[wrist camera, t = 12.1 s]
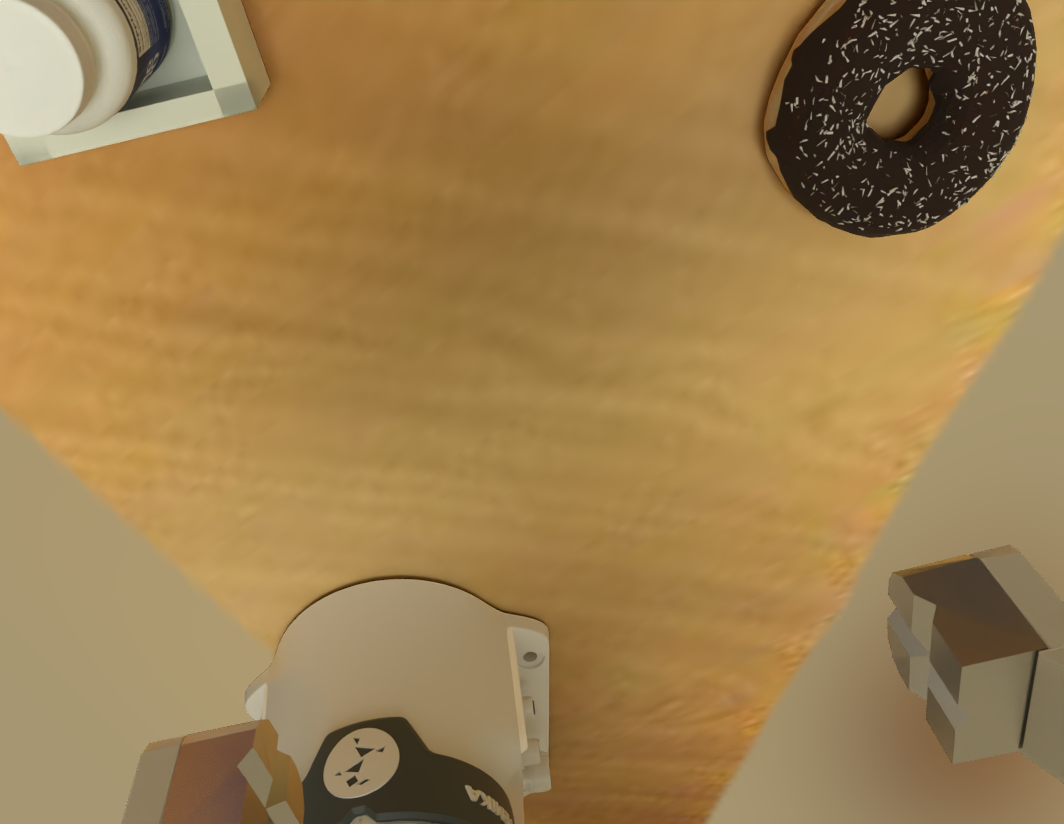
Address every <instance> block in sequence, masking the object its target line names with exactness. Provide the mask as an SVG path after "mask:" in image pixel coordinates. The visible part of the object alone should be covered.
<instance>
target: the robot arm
mask: <svg viewBox="0 0 1064 824" xmlns="http://www.w3.org/2000/svg"><path fill="white" fill-rule="evenodd" d="M888 595H889V596H890V598H891V600H892V601H893V603H894V605H895V606H896V609H895V610H894V611H893V612H892V614H891V615H890V616H889V617H888V619H887V621H888V640H889V644H890V648H891V652H892V657H893V659H894V662H895V664H896V666H897V669H898V671H899V673H900V675H901V677H902V679H903V680H904V682H905V684H906V686H907V688H908V689H909V691H911V692H913V693H915V694H917V695H918V696H920V697H922V698H924V699H925V700H927V708H926V720H927V722H928V724H929V725H930V727H931V729H932V730H933V732H934V734H935V735H936V737H937V739H938V741H939V742H940V744H941V745H942V747H943V749H944V751H945V753H946V754H947V756H948V758H949V759H950V760H951V763H952V764H957V763H961V762H967V761H972V760H977V759H982V758H987V757H991V756H997V755H1002V754H1007V753H1012V752H1017V751H1022V755H1023V756H1025V757H1026V758H1028V759H1029V760H1031V761H1032V762H1034V763H1035V764H1036V765H1038V766H1039V767H1041V768H1042V769H1044V770H1045V771H1047V772H1048V773H1050V774H1051V775H1052V776H1054V777H1055V778H1057V779H1058V780H1060V781H1061V782H1062V783H1064V602H1063V601H1062V600H1061V598H1060V597H1059V596H1058V595H1057V594H1056V593H1055V591H1054V590H1053V589H1052V588H1051V587H1050V586H1049V585H1048V583H1047V582H1046V581H1045V580H1044V579H1043V577H1042V576H1041V575H1040V574H1039V573H1038V572H1037V570H1036V569H1035V568H1034V567H1033V566H1032V565H1031V563H1030V562H1029V561H1028V560H1027V559H1026V558H1025V556H1024V555H1023V554H1022V553H1021V552H1020V551H1019V550H1018V549H1017V548H1015V547H1013V546H1011V545H1007V546H1003V547H999V548H994V549H990V550H986V551H982V552H977V553H973V554H970V555H962V556H959V557H954V558H950V559H946V560H942V561H938V562H934V563H929V564H925V565H921V566H917V567H913V568H909V569H905V570H901V571H897V572H893V573H892V575H891V577H890V579H889V586H888ZM528 652H530V653H528ZM245 709H246V712H247V713H248V714H249V715H250V717H251V718H253V720H254V721H252V722H248V723H242V724H237V725H233V726H228V727H223V728H218V729H213V730H208V731H204V732H198V733H193V734H189V735H186V736H181V737H176V738H172V739H167V740H162V741H158V742H153V743H150V744H149V745H148V746H147V748H146V749H145V750H144V752H143V753H142V755H141V756H140V760H139V763H138V767H137V771H136V774H135V778H134V781H133V785H132V788H131V791H130V795H129V798H128V801H127V805H126V809H125V812H124V816H123V819H122V823H121V824H524V800H523V797H525V796H527V795H529V794H532V793H533V792H534V793H540V792H548V790H551V778H550V769H549V630H548V628H547V626H546V625H545V624H544V623H542V622H540V621H538V620H535V619H532V618H528V617H523V616H518V615H513V614H508V613H503V612H501V611H499V610H497V609H495V608H493V607H491V606H489V605H488V604H486V603H485V602H483V601H481V600H480V599H478V598H477V597H475V596H473V595H471V594H469V593H467V592H465V591H462V590H460V589H457V588H454V587H451V586H448V585H444V584H440V583H436V582H430V581H424V580H413V579H390V580H380V581H373V582H367V583H363V584H359V585H355V586H351V587H348V588H345V589H342V590H340V591H337V592H335V593H333V594H330V595H328V596H326V597H324V598H323V599H321V600H319V601H317V602H316V603H314V604H313V605H311V606H310V607H309V608H307V609H306V610H305V611H304V612H302V613H301V614H300V615H299V616H298V617H297V618H296V619H295V620H294V621H293V622H292V624H291V625H290V626H289V627H288V629H287V630H286V632H285V633H284V635H283V637H282V639H281V641H280V643H279V646H278V649H277V652H276V654H275V657H274V660H273V662H272V663H271V665H270V667H269V668H268V669H267V670H265V671H264V672H263V673H262V674H261V675H260V676H258V677H257V678H256V679H255V680H254V681H253V682H252V683H251V684H250V685H249V687H248V688H247V690H246V692H245Z"/></svg>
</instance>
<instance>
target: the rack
mask: <svg viewBox="0 0 1064 824" xmlns="http://www.w3.org/2000/svg"><path fill="white" fill-rule="evenodd" d="M171 3H172V7H173V12H174V27H175V29H174V37H173V41H172V45H171V48H170V50H169V52H168V54H167V56H166V58H165V59H164V61H163V62H162V64H161V65H160V67H159V68H158V69H157V70H156V71H155V72H154V73H153V74H152V76H151V77H150V78H149V79H148V80H147V81H146V82H145V83H144V84H143V85H142V86H141V88H140V89H139V90H138V91H137V92H136V93H135V94H134V95H133V96H132V97H131V98H130V99H129V100H128V102H127V103H126V104H125V105H124V106H123V107H122V108H121V109H120V110H119V111H118V112H117V113H116V114H115V115H114V116H113V117H111V118H110V119H109V120H108V121H106V122H105V123H103V124H101V125H99V126H98V127H96V128H93V129H91V130H88V131H84V132H81V133H77V134H70V135H51V134H50V135H47V136H43V137H37V138H17V137H11V136H7V135H4V137H5V139H6V141H7V143H8V145H9V146H10V148H11V150H12V152H13V154H14V156H15V158H16V160H17V162H18V163H19V165H20V166H23V165H27V164H31V163H35V162H40V161H44V160H48V159H52V158H56V157H60V156H65V155H69V154H73V153H77V152H81V151H85V150H90V149H94V148H98V147H102V146H106V145H110V144H115V143H119V142H123V141H127V140H131V139H135V138H140V137H144V136H148V135H152V134H156V133H160V132H165V131H169V130H173V129H177V128H181V127H185V126H190V125H194V124H198V123H202V122H206V121H210V120H215V119H219V118H223V117H227V116H231V115H235V114H240V113H244V112H248V111H252V110H256V109H257V108H258V106H259V104H260V102H261V101H262V99H263V97H264V95H265V93H266V91H267V89H268V87H269V85H270V81H269V78H268V75H267V72H266V69H265V67H264V64H263V61H262V58H261V55H260V52H259V50H258V47H257V44H256V41H255V38H254V35H253V33H252V30H251V27H250V24H249V21H248V18H247V16H246V13H245V10H244V7H243V4H242V1H241V0H171Z"/></svg>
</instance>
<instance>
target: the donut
mask: <svg viewBox="0 0 1064 824" xmlns="http://www.w3.org/2000/svg"><path fill="white" fill-rule="evenodd" d="M1036 50H1037V48H1036V40H1035V32H1034V26H1033V20H1032V17H1031V12H1030V9H1029V6H1028V4H1027V2H1026V0H825V2H824V3H823V4H822V5H821V7H820V8H819V9H818V10H817V12H816V13H815V14H814V15H813V17H812V18H811V19H810V20H809V22H808V23H807V24H806V25H805V27H804V28H803V29H802V30H801V32H800V33H799V34H798V36H797V38H796V40H795V42H794V44H793V46H792V48H791V50H790V52H789V54H788V56H787V58H786V60H785V62H784V64H783V66H782V68H781V70H780V72H779V74H778V77H777V79H776V82H775V85H774V87H773V90H772V92H771V95H770V97H769V101H768V106H767V110H766V114H765V119H764V137H765V151H766V155H767V157H768V160H769V162H770V164H771V165H772V167H773V169H774V170H775V172H776V174H777V175H778V177H779V179H780V180H781V182H782V184H783V185H784V187H785V188H786V190H787V191H788V192H790V193H791V194H792V195H793V196H794V198H795V199H796V200H797V201H798V202H800V203H801V204H802V205H803V206H804V207H805V208H806V209H808V210H809V211H810V212H811V213H812V214H813V215H814V216H815V217H816V218H817V219H819V220H821V221H824V222H826V223H828V224H829V225H831V226H833V227H835V228H838V229H841V230H844V231H847V232H849V233H852V234H855V235H860V236H865V237H870V238H872V237H884V236H890V235H898V234H906V233H912V232H917V231H920V230H923V229H926V228H928V227H930V226H932V225H934V224H936V223H938V222H939V221H941V220H943V219H944V218H946V217H947V216H949V215H950V214H952V213H953V212H954V211H955V210H957V209H958V208H959V207H960V206H962V205H965V204H966V203H967V202H968V201H969V200H970V198H971V197H972V196H973V195H975V194H976V192H977V191H978V190H979V189H980V188H981V187H983V186H984V184H985V183H986V182H987V181H988V180H989V179H990V178H992V177H994V176H993V174H994V173H995V172H996V171H997V170H998V169H999V168H1000V167H1001V165H1000V164H1001V163H1002V162H1003V161H1004V159H1005V157H1006V156H1007V154H1010V153H1009V151H1010V152H1011V149H1012V148H1013V147H1014V146H1015V144H1014V143H1015V142H1016V141H1018V140H1017V139H1018V137H1019V136H1018V135H1019V132H1022V126H1023V124H1024V122H1025V120H1026V118H1027V117H1026V114H1027V111H1028V107H1029V103H1030V99H1031V96H1032V92H1033V85H1034V75H1035V66H1036V64H1037V63H1036ZM911 67H914V68H924V69H925V72H926V75H927V78H928V83H929V102H928V104H927V107H926V110H925V113H924V115H923V116H922V118H921V119H920V121H919V122H918V123H917V124H916V125H915V126H914V127H913V128H912V129H911V130H910V131H909V132H908V133H907V134H906V135H905V136H903V137H900V138H897V139H895V140H890V139H883V138H880V137H879V136H878V135H877V133H876V132H875V131H874V130H873V129H871V128H869V127H868V126H869V125H867V124H866V120H867V118H868V116H869V114H870V112H871V110H872V108H873V106H874V104H875V102H876V101H877V99H878V97H879V95H880V93H881V92H882V90H883V88H884V87H885V85H886V84H888V83H889V82H891V81H892V80H894V79H895V78H896V77H898V76H899V75H900V74H902V73H903V72H904V71H906V70H907V69H909V68H911Z"/></svg>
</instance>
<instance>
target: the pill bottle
mask: <svg viewBox="0 0 1064 824" xmlns="http://www.w3.org/2000/svg"><path fill="white" fill-rule="evenodd" d="M174 29H175V27H174V12H173V7H172V3H171V0H0V134H3V135H7V136H11V137H17V138H37V137H43V136H47V135H50V134H51V135H70V134H77V133H81V132H84V131H88V130H91V129H93V128H96V127H98V126H99V125H101V124H103V123H105V122H106V121H108V120H109V119H110V118H111V117H113V116H114V115H115V114H116V113H117V112H118V111H119V110H120V109H121V108H122V107H123V106H124V105H125V104H126V103H127V102H128V100H129V99H130V98H131V97H132V96H133V95H134V94H135V93H136V92H137V91H138V90H139V89H140V88H141V86H142V85H143V84H144V83H145V82H146V81H147V80H148V79H149V78H150V77H151V76H152V74H153V73H154V72H155V71H156V70H157V69H158V68H159V67H160V65H161V64H162V62H163V61H164V59H165V58H166V56H167V54H168V52H169V50H170V48H171V45H172V41H173V37H174Z"/></svg>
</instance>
